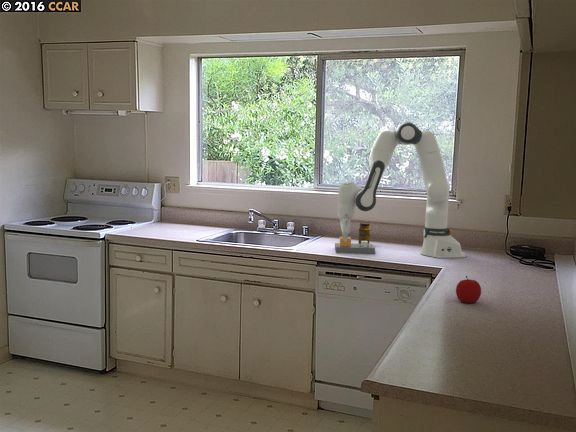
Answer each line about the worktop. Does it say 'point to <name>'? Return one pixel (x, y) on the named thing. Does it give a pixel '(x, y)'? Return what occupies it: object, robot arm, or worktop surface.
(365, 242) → the button
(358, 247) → the grey flat slab
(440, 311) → the worktop surface
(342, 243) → the lockout cap
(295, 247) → the worktop surface
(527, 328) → the worktop surface
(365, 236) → the condiment
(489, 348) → the worktop surface
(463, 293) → the apple
